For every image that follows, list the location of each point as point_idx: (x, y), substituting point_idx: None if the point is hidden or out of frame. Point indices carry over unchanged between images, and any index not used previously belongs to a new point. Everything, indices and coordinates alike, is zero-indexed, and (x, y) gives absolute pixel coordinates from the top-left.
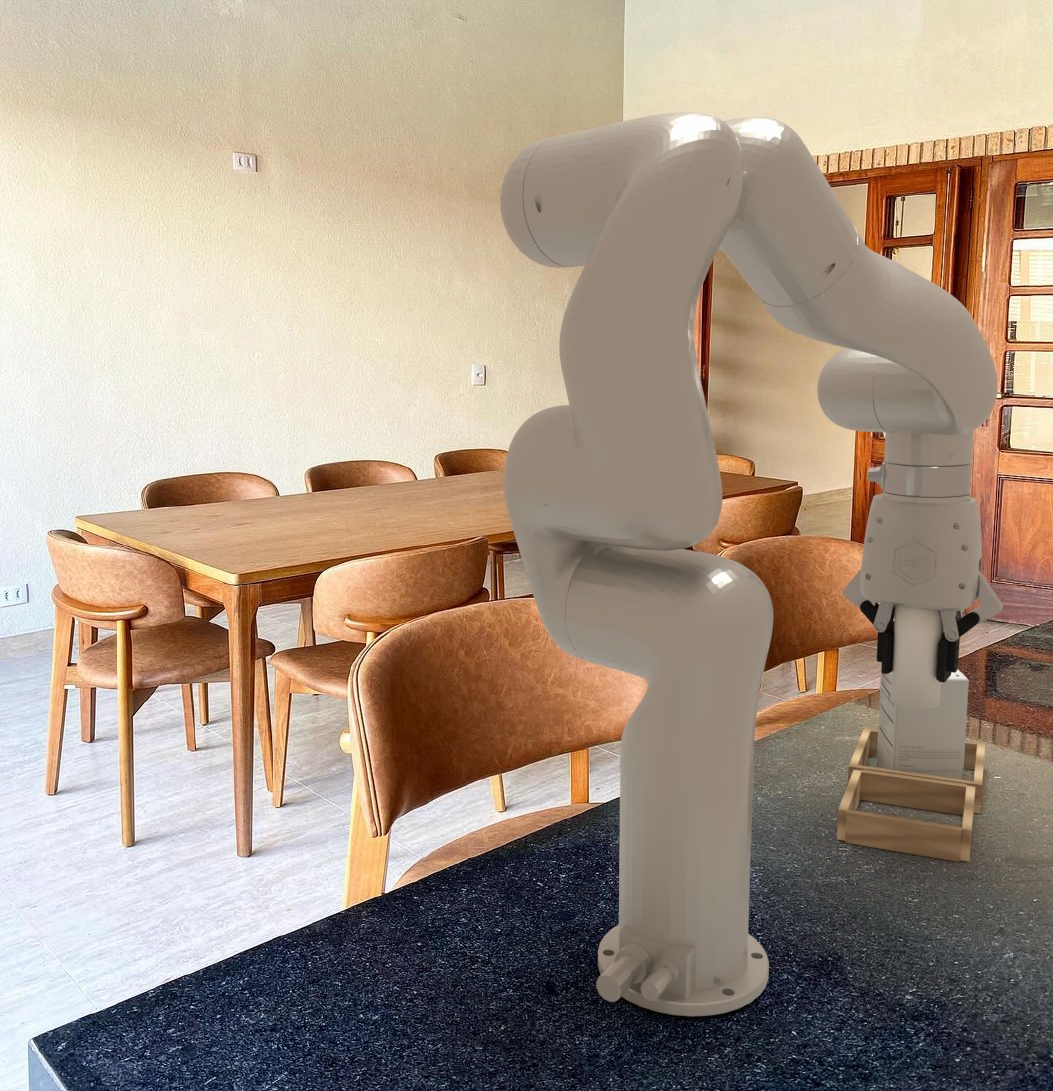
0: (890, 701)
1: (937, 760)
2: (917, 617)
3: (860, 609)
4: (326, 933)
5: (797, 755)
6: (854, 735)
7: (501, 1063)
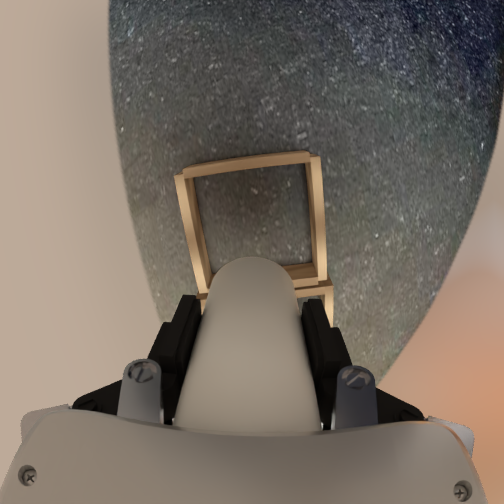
0: None
1: None
2: (234, 404)
3: (418, 410)
4: None
5: (379, 330)
6: None
7: None
